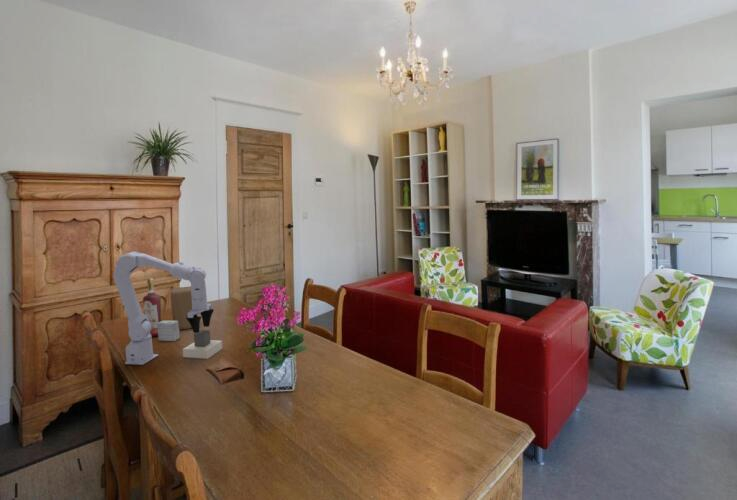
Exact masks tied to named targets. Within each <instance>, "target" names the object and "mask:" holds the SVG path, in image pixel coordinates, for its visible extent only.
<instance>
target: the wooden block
mask: <svg viewBox="0 0 737 500" xmlns="http://www.w3.org/2000/svg"><path fill="white" fill-rule="evenodd" d="M170 302H171V313H172V321H178V325H179V331H181V330H182V329H183V330H189V329H190V330H191V329H192V327H191V325H190V323H189V322H188V320H187V319H186V317H187V316H188V314H187V313H189V312H190V311H191V310H192V296H191V285H190V286H182V287H173V288H171V290H170Z"/></svg>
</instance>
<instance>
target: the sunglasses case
mask: <svg viewBox="0 0 737 500" xmlns="http://www.w3.org/2000/svg"><path fill="white" fill-rule="evenodd" d="M205 369H206V370H205V371H206V372H209V373H210V374H211V375H212V377H213V376H215V377H214V378H215V379H216V380H217V381H219V384H221V385H225V384H228V383H231V382H234V381H238V380H241V379H244V377H245V374H244V371H243V370H241V368H239V367H238V366H237V365H235V364H234V363H233V362H231V361H230V360H229V359H228V358H226V357H225V356H224V355H222V356H221V358H219V359H218V360H216V361H215V362H213V363H211V365H209V366H208V367H206V368H205Z"/></svg>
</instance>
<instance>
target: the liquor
mask: <svg viewBox="0 0 737 500" xmlns="http://www.w3.org/2000/svg"><path fill="white" fill-rule="evenodd" d="M146 284H147V294H146V295H145V296H144V297H142V300H143V301H142V302H143V308H144V314H145V315H146V317H147V319H148V320H149V321H150V322H151V323H152V329H151V331H150V334H151V337H152V338H153V337H155V338H156V337H158V328H157V323H159V322H161V321H162V304H161V303H162V301H161V298H162V297H161V295H160V294H157V293H156V292H155V286H154V277H147V278H146Z"/></svg>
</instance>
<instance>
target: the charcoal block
mask: <svg viewBox="0 0 737 500" xmlns="http://www.w3.org/2000/svg"><path fill="white" fill-rule="evenodd" d="M210 331H211V330H208V329H207V330H205V329H199V333H194V332H193V340H194V342H193V343H194V344H195V346H197V347H205V346H207V345H208V344H210V343H211V342H210V340H211V332H210Z"/></svg>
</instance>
